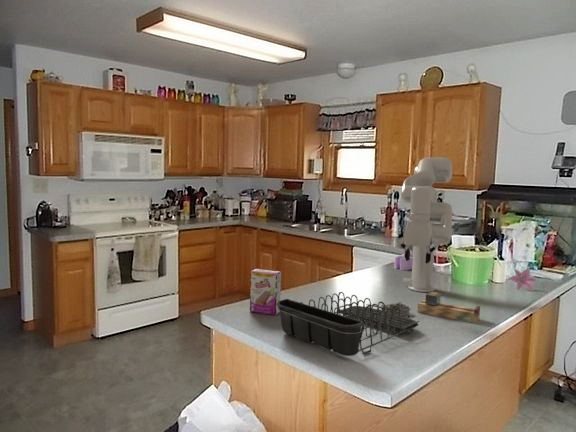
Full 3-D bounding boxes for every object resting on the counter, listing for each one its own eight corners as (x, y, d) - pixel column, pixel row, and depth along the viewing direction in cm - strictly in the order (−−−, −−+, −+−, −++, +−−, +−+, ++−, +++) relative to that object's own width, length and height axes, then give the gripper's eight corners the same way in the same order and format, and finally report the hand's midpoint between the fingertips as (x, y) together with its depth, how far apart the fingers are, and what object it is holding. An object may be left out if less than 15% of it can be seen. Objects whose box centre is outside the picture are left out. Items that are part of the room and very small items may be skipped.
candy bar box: (249, 312, 174) (249, 270, 173) (254, 308, 179) (254, 268, 177) (276, 316, 171) (277, 273, 169) (280, 312, 175) (281, 271, 174)
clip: (406, 271, 252) (407, 259, 251) (389, 267, 262) (389, 256, 261) (427, 267, 264) (428, 256, 264) (410, 263, 274) (410, 252, 273)
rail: (417, 312, 179) (418, 300, 178) (421, 308, 184) (422, 296, 184) (476, 323, 167) (477, 310, 167) (479, 318, 172) (480, 306, 172)
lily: (503, 289, 222) (509, 275, 216) (510, 276, 229) (516, 262, 224) (528, 300, 216) (535, 286, 210) (535, 287, 223) (541, 273, 218)
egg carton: (390, 319, 171) (390, 308, 170) (378, 313, 178) (378, 303, 177) (412, 315, 175) (413, 305, 175) (400, 310, 182) (400, 300, 181)
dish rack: (270, 334, 152) (271, 299, 151) (354, 309, 182) (355, 280, 180) (348, 368, 127) (349, 327, 126) (429, 332, 157) (431, 299, 156)
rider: (425, 306, 177) (425, 294, 177) (429, 303, 182) (429, 291, 182) (436, 308, 175) (437, 296, 174) (440, 305, 180) (440, 293, 179)
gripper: (395, 217, 180) (393, 260, 182) (439, 220, 171) (437, 266, 173) (401, 215, 186) (399, 257, 188) (444, 218, 177) (441, 262, 179)
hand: (417, 261), depth 180 cm, fingers open, 7 cm apart
